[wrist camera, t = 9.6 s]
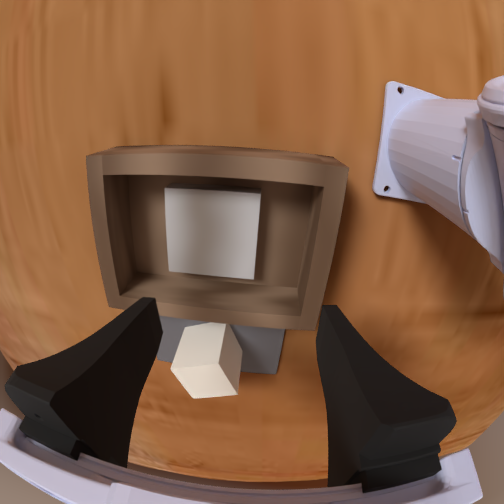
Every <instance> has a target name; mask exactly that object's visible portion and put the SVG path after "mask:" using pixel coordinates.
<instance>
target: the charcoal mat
mask: <svg viewBox="0 0 504 504" xmlns="http://www.w3.org/2000/svg"><path fill="white" fill-rule="evenodd" d="M159 317H160V321H161V325H162V329H163V335H162V339H161V343H160V347H159V350H158V353H157V358H158V360H161V361H166V362H172V363H173V360H174V357H175V354H176V351H177V349H178V346H179V343H180V340H181V337H182V334H183V332H184V329H185V327H189V326H194V325H200V324H205V323H210V322H204V321H196V320H188V319H181V318H174V317H167V316H160V315H159ZM229 325H230V327H231V329H232V331H233V333H234V335H235V337H236V339H237V341H238V343H239V345H240V347H241V349H242V351H243V352H242V361H241V369H240V372H251V373H264V374H276V372H277V367H278V362H279V357H280V352H281V347H282V342H283V337H284V332H285V329H278V328H265V327H253V326H242V325H232V324H229Z"/></svg>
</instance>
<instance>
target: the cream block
mask: <svg viewBox="0 0 504 504" xmlns="http://www.w3.org/2000/svg"><path fill="white" fill-rule="evenodd" d="M242 352H243V351H242V349H241V347H240V345H239V343H238V341H237V339H236V337H235V335H234V333H233V331H232V329H231V327H230V325H229V324H222V323H213V322H210V323H205V324H200V325H194V326H189V327H185V329H184V332H183V334H182V337H181V340H180V343H179V346H178V349H177V351H176V354H175V357H174V360H173V363H172V366H171V370H172V372H173V373H174V374H175V376H176V377H177V378H178V380H179V381H180V382H181V384H182V385H183V386H184V388H185V389H186V390H187V391H188V393H189V394H190V395H191V396H192V398H207V397H219V396H229V395H238V387H239V378H240V369H241V361H242Z"/></svg>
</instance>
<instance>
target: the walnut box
mask: <svg viewBox="0 0 504 504" xmlns="http://www.w3.org/2000/svg"><path fill="white" fill-rule="evenodd" d="M86 165H87V179H88V190H89V200H90V209H91V217H92V224H93V231H94V237H95V243H96V249H97V254H98V260H99V265H100V270H101V275H102V279H103V284H104V288H105V293H106V297H107V301H108V305H109V307H112V308H118V309H123V310H126V309H127V308H129V307H130V306H131V305H133V304H134V303H135V302H136V301H138V300H139V299H141V298H142V297H152V298H155V299H156V303H157V308H158V312H159V315H160V316H167V317H174V318H181V319H188V320H196V321H204V322H213V323H222V324H232V325H242V326H253V327H265V328H278V329H293V330H311V331H315V328H316V325H317V321H318V317H319V313H320V309H321V305H322V301H323V297H324V293H325V289H326V285H327V281H328V276H329V272H330V268H331V263H332V258H333V254H334V249H335V244H336V239H337V234H338V229H339V224H340V219H341V214H342V208H343V202H344V197H345V191H346V185H347V178H348V172H349V168H348V167H347V166H346V165H344V164H343V163H341V162H340V161H338V160H337V159H335V158H334V157H329V156H322V155H315V154H307V153H298V152H289V151H280V150H269V149H257V148H243V147H225V146H197V145H148V146H121V147H114V148H110V149H107V150H104V151H101V152H97V153H94V154H91V155H88V156H86Z"/></svg>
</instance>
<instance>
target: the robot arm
mask: <svg viewBox="0 0 504 504" xmlns="http://www.w3.org/2000/svg"><path fill="white" fill-rule="evenodd" d="M398 87H400V88H401V89H402V93H401V94H400V93H399V92H398V90H397V89H398ZM385 186H388V190H387V191H385V192H384V187H385ZM373 191H374V192H375V193H376V194H378V195H382V196H388V197H393V198H399V199H405V200H410V201H415V202H421V203H426V204H428V205H429V206H431V207H432V208H434V209H435V210H437V211H438V212H439V213H441V214H442V215H444V216H445V217H446V218H448V219H449V220H450V221H452V222H453V223H454V224H456V225H457V226H458V227H460V228H461V229H462V230H463V231H465V232H466V233H467V234H468V235H470V236H471V237H472V238H473V239H475V240H476V241H477V242H478V243H479V244H480V245H482V246H483V247H484V248H485V249H486V250H487V251H488V252H489V255H490V261H491V262H492V263H493V264H494V265H495V266H496V267H497V268H498V269H499V270H500V271H501V272H502V273H503V274H504V75H503V76H500V77H497V78H494V79H492V80H490V81H488V82H487V83H486V84H485V86H484V88H483V91H482V93H481V94H480V95H479V96H478V98H477V100H464V99H444V98H442V97H439V96H436V95H434V94H431V93H428V92H425V91H423V90H420V89H417V88H414V87H411V86H408V85H404V84H401V83H398V82H394V81H391V82H388V83H387V84H386V87H385V99H384V109H383V119H382V127H381V135H380V143H379V150H378V156H377V163H376V169H375V175H374V181H373ZM503 298H504V282H503ZM162 335H163V329H162V325H161V321H160V317H159V312H158V308H157V303H156V299H155V298H152V297H142V298H141V299H139V300H138V301H136V302H135V303H134V304H133V305H131V306H130V307H129V308H127V309H126V310H125V311H124V312H122V313H121V314H120V315H119V316H117V317H116V318H115V319H113V320H112V321H111V322H109V323H108V324H107V325H105V326H104V327H102V328H101V329H100V330H98V331H97V332H96V333H94V334H93V335H91V336H89V337H88V338H86V339H84V340H83V341H81V342H79V343H78V344H76V345H74V346H72V347H70V348H68V349H66V350H64V351H61V352H59V353H57V354H55V355H52V356H50V357H47V358H44V359H41V360H38V361H35V362H31V363H28V364H24V365H20V366H17V368H16V369H15V370H14V372H13V373H12V375H11V376H10V378H9V379H8V381H7V382H6V384H5V390H6V392H7V394H8V395H9V397H10V398H11V399H12V401H13V402H14V403H15V404H16V406H17V407H18V408H19V409H20V410H21V412H22V413H23V414H24V415H25V418H24V419H23V420H21V419H20V418H19V417H18V416H16V415H14V414H13V413H11V412H9V411H8V410H6V409H4V408H2V409H1V411H0V462H1V463H2V464H3V465H5V466H6V467H7V468H9V469H10V470H11V471H13V472H14V473H15V474H17V475H18V476H20V477H21V478H23V479H24V480H26V481H27V482H29V483H31V484H32V485H34V486H35V487H37V488H39V489H41V490H42V491H44V492H45V493H47V494H49V495H51V496H53V497H54V498H56V499H58V500H60V501H62V502H64V503H66V504H472V503H474V502H476V501H478V500H479V499H481V498H482V497H483V494H482V490H481V487H480V483H479V479H478V476H477V472H476V469H475V466H474V463H473V460H472V457H471V454H470V451H469V449H468V448H466V449H464V450H461V451H458V452H456V453H453V454H450V455H447V456H445V457H443V458H441V459H440V460H439V457H438V453H440V451H441V448H440V445H439V443H440V442H441V441H442V440H443V439H444V438H445V437H446V436H447V435H448V434H449V433H450V432H451V430H452V429H453V428H454V426H455V424H456V421H457V420H456V417H455V414H454V412H453V409H452V407H451V405H450V402H449V401H448V399H445V398H443V397H441V396H439V395H437V394H435V393H433V392H431V391H429V390H427V389H425V388H423V387H422V386H420V385H418V384H417V383H415V382H413V381H412V380H410V379H409V378H407V377H406V376H404V375H403V374H402V373H400V372H399V371H398V370H396V369H395V368H394V367H392V366H391V365H390V364H389V363H388V362H387V361H385V360H384V359H383V358H382V357H381V356H380V355H379V354H378V353H377V352H376V351H375V350H374V349H373V348H372V347H371V346H370V345H369V344H368V343H367V342H366V341H365V340H364V339H363V337H362V336H361V335H360V334H359V333H358V332H357V330H356V329H355V328H354V327H353V326H352V324H351V323H350V322H349V320H348V319H347V318H346V317H345V315H344V314H343V313H342V311H341V310H340V309H339V308H338V306H337V305H322V310H321V316H320V321H319V327H318V332H317V337H316V350H317V361H318V366H319V371H320V376H321V381H322V386H323V391H324V397H325V402H326V409H327V423H328V487H327V488H315V489H299V490H298V489H297V490H257V489H239V488H226V487H217V486H209V485H201V484H194V483H188V482H183V481H177V480H172V479H167V478H162V477H157V476H153V475H150V474H145V473H142V472H138V471H134V470H131V469H127V462H128V452H129V445H130V438H131V432H132V427H133V422H134V418H135V413H136V409H137V406H138V402H139V398H140V395H141V392H142V389H143V387H144V384H145V382H146V379H147V377H148V375H149V372H150V370H151V367H152V365H153V363H154V360H155V358H156V355H157V353H158V350H159V347H160V343H161V339H162Z"/></svg>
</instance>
